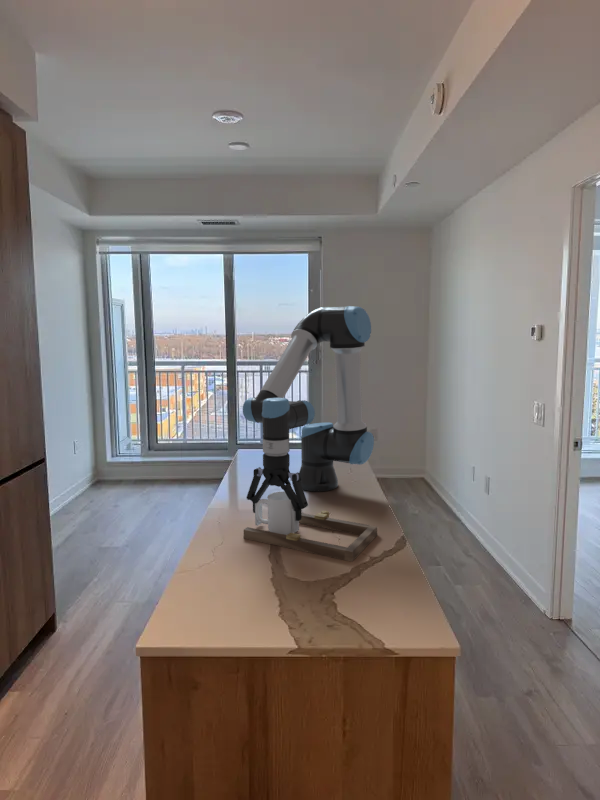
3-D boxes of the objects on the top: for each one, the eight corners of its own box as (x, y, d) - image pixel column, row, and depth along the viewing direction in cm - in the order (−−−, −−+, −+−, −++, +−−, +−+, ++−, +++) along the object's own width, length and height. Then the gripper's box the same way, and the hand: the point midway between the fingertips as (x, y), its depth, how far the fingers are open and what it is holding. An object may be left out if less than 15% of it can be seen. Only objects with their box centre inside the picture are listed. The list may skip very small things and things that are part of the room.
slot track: (282, 513, 164) (282, 503, 163) (380, 531, 149) (381, 519, 149) (243, 538, 144) (243, 527, 144) (351, 561, 129) (351, 549, 129)
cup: (294, 536, 145) (294, 501, 144) (252, 534, 147) (252, 499, 146) (298, 525, 154) (298, 492, 152) (258, 523, 155) (258, 490, 154)
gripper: (233, 451, 149) (234, 524, 152) (308, 460, 138) (308, 539, 141) (247, 446, 156) (249, 516, 159) (320, 454, 145) (319, 530, 148)
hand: (276, 527), depth 150 cm, fingers closed on cup, 11 cm apart
